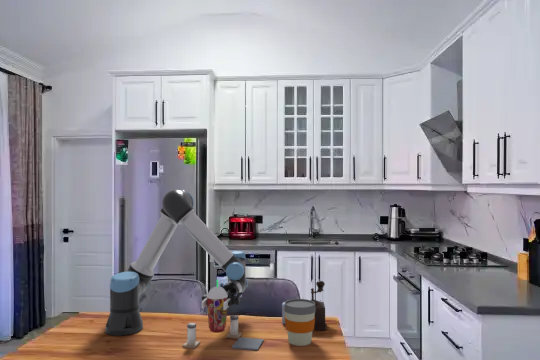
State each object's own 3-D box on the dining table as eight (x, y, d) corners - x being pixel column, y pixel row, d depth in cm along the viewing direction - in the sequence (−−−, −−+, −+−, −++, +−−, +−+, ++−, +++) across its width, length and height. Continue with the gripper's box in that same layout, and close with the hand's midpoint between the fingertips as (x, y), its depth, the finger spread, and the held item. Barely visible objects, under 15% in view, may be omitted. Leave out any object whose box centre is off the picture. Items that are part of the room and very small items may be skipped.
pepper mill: (327, 330, 172) (327, 288, 172) (301, 330, 172) (301, 287, 173) (324, 319, 187) (324, 279, 188) (300, 318, 188) (300, 279, 188)
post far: (226, 337, 164) (226, 317, 164) (230, 333, 169) (230, 313, 169) (238, 338, 163) (238, 318, 163) (241, 334, 168) (241, 314, 168)
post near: (182, 347, 154) (182, 325, 154) (188, 342, 159) (188, 321, 159) (195, 348, 153) (195, 326, 153) (200, 343, 158) (200, 322, 158)
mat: (231, 348, 153) (231, 346, 153) (239, 338, 163) (239, 337, 163) (257, 350, 151) (257, 348, 151) (263, 340, 161) (263, 339, 161)
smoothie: (226, 334, 156) (226, 282, 157) (205, 334, 157) (205, 282, 157) (229, 326, 165) (229, 277, 165) (208, 326, 165) (208, 277, 165)
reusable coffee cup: (289, 349, 152) (289, 308, 152) (279, 337, 164) (279, 299, 165) (320, 345, 156) (320, 306, 156) (309, 334, 168) (308, 297, 168)
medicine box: (300, 321, 184) (300, 302, 184) (299, 324, 179) (299, 305, 179) (282, 320, 185) (282, 301, 185) (282, 324, 180) (282, 304, 180)
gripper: (254, 301, 176) (239, 317, 154) (208, 298, 181) (187, 313, 158) (254, 283, 176) (239, 297, 154) (208, 281, 181) (187, 294, 158)
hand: (213, 305), depth 156 cm, fingers closed on smoothie, 8 cm apart
